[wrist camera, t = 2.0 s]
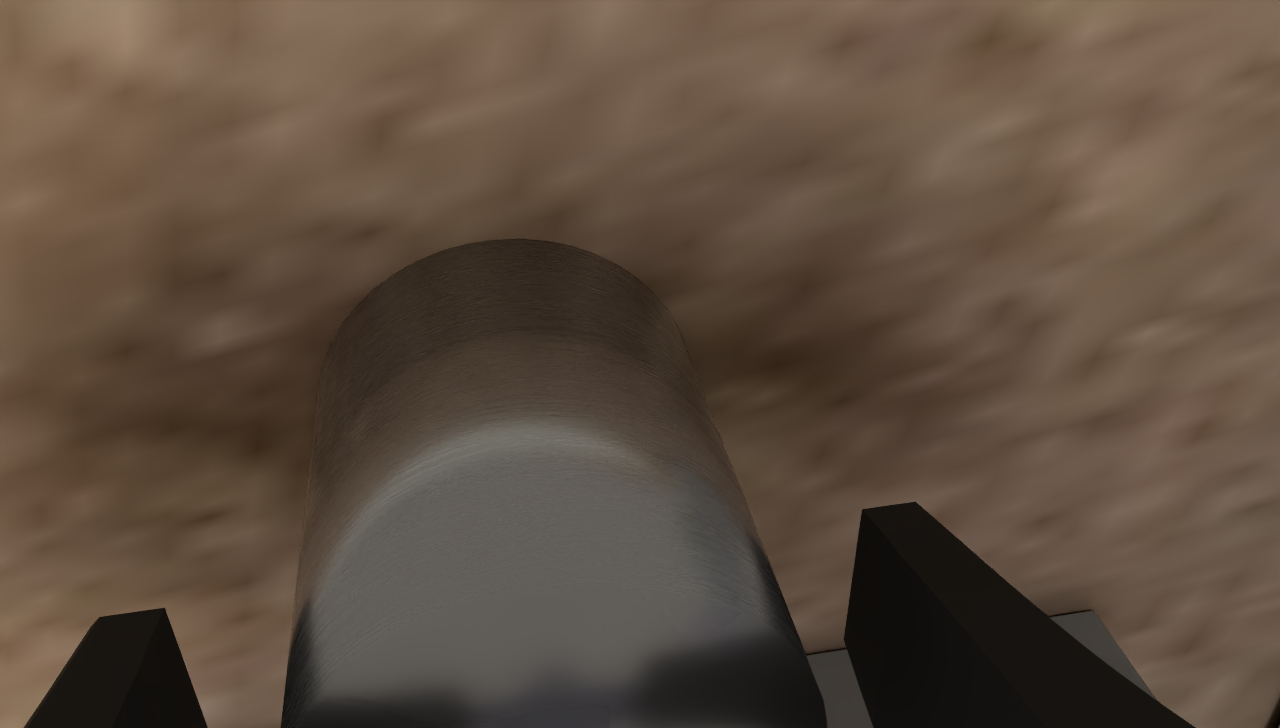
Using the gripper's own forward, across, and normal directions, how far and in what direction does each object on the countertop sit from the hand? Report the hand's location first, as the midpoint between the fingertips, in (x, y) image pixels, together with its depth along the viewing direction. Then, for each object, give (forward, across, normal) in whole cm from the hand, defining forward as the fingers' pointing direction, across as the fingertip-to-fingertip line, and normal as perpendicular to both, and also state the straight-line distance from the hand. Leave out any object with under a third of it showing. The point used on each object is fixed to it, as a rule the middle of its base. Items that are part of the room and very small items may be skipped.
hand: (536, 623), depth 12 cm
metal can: (+4, 0, 0) cm, 4 cm away
